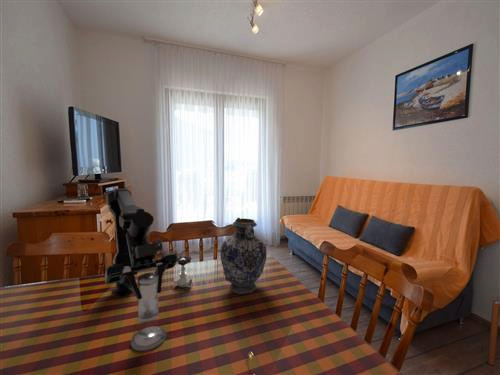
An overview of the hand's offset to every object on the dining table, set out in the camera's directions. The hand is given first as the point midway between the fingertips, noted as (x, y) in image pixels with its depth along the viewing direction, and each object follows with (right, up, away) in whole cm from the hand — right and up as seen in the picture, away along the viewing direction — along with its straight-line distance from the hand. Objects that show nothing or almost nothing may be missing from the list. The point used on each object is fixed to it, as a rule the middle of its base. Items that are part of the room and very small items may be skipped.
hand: (149, 296), depth 63 cm
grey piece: (-1, -6, +1) cm, 7 cm away
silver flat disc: (-1, -13, +2) cm, 13 cm away
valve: (0, -11, +31) cm, 33 cm away
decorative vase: (+25, -12, +31) cm, 42 cm away
